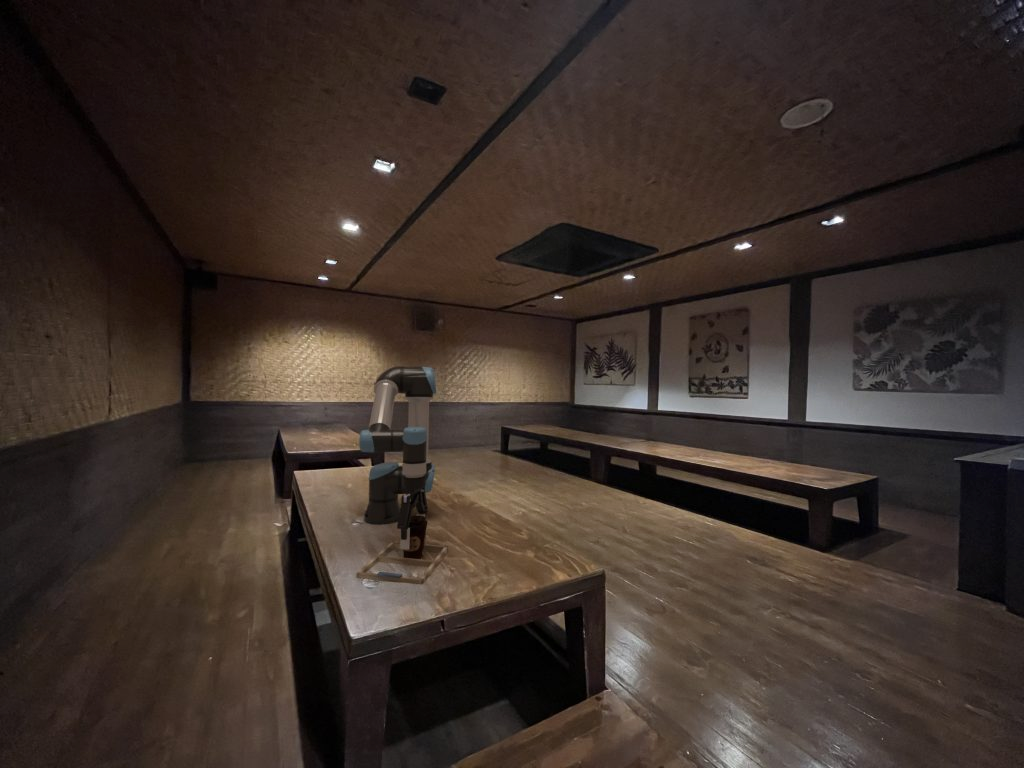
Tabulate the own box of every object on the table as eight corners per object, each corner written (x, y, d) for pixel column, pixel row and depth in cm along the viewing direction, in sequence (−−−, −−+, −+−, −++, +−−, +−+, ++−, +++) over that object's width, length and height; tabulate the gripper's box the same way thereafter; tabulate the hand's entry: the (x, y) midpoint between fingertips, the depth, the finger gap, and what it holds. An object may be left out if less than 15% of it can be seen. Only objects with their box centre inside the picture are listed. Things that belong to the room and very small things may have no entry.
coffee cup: (419, 565, 123) (420, 524, 123) (395, 562, 125) (395, 521, 125) (430, 553, 132) (431, 515, 132) (407, 551, 134) (408, 512, 133)
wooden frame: (392, 547, 136) (392, 539, 136) (447, 552, 133) (448, 544, 133) (355, 580, 113) (355, 571, 113) (421, 587, 110) (422, 578, 110)
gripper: (417, 466, 141) (416, 526, 141) (386, 483, 117) (384, 555, 117) (437, 467, 140) (436, 527, 140) (409, 485, 116) (408, 558, 116)
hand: (413, 540), depth 129 cm, fingers open, 12 cm apart
